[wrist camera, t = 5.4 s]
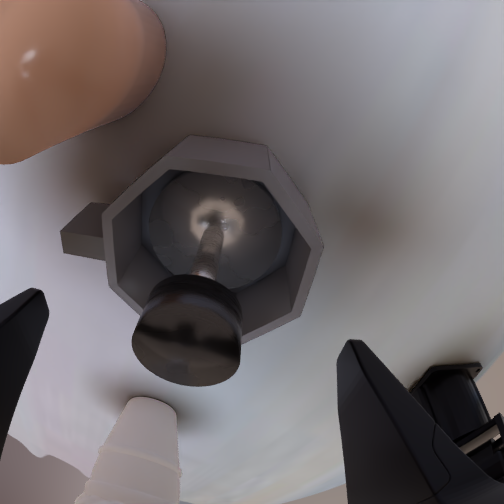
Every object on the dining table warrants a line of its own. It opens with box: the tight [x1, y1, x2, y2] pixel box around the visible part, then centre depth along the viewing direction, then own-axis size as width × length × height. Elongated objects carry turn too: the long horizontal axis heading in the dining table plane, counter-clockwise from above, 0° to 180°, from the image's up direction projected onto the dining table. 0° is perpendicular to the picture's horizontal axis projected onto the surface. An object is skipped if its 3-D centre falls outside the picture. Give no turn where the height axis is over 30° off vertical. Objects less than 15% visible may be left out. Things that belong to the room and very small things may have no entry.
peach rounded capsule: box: [0, 0, 166, 164], centre depth 7 cm, size 6×6×6 cm
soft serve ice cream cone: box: [74, 397, 182, 504], centre depth 16 cm, size 8×8×16 cm
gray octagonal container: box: [60, 135, 324, 344], centre depth 12 cm, size 10×8×4 cm
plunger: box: [132, 171, 282, 387], centre depth 10 cm, size 6×6×7 cm
